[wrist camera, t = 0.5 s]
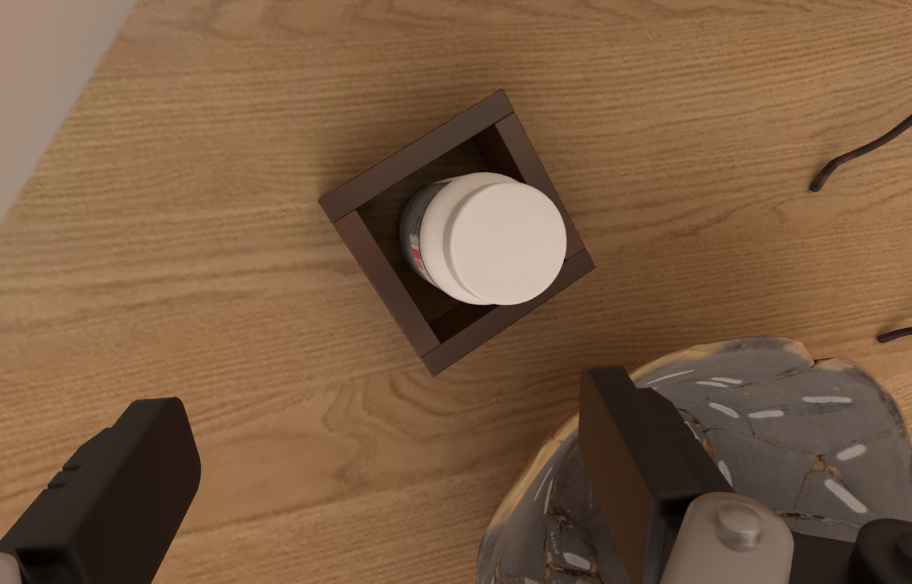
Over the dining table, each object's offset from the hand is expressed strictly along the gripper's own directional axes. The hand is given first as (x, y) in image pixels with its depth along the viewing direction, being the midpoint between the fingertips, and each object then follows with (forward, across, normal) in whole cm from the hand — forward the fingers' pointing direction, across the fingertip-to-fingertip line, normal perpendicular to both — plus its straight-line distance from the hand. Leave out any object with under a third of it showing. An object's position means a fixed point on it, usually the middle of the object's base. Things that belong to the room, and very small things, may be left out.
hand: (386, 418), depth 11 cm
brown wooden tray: (+20, -2, +2) cm, 20 cm away
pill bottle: (+20, -2, +3) cm, 20 cm away
